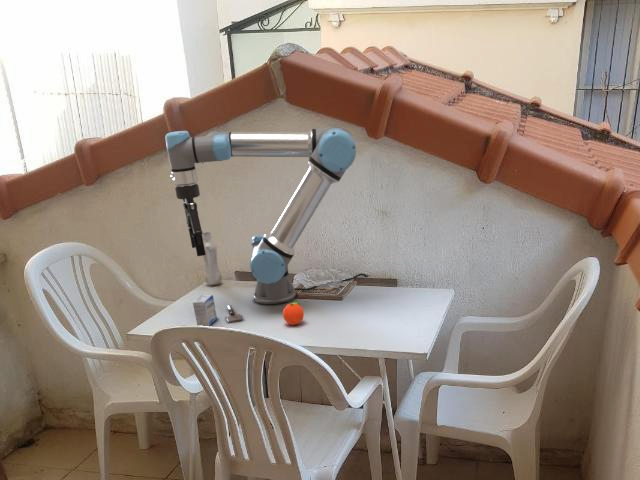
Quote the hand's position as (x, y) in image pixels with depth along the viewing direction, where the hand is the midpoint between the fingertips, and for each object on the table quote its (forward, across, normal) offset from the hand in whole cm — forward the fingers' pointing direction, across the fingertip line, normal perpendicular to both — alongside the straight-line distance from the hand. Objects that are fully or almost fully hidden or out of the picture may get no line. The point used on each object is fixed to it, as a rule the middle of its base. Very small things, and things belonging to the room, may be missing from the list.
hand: (198, 251), depth 232 cm
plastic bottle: (+22, -39, +7) cm, 46 cm away
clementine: (+23, +24, +25) cm, 41 cm away
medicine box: (+22, +8, -2) cm, 24 cm away
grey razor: (+22, +4, +7) cm, 24 cm away
